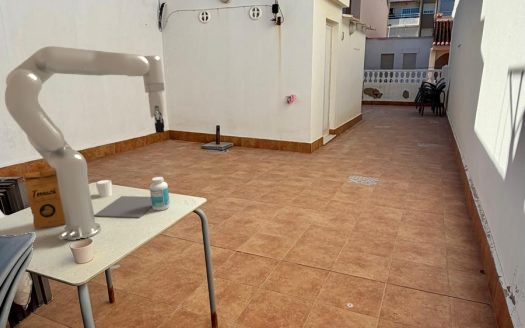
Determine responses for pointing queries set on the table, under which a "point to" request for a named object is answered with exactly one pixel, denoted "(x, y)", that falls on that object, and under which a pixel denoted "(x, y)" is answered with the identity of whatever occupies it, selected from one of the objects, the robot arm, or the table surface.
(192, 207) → the table surface
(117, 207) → the mat
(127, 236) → the table surface
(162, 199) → the pill bottle
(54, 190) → the coffee package
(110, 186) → the white ridged cylinder
